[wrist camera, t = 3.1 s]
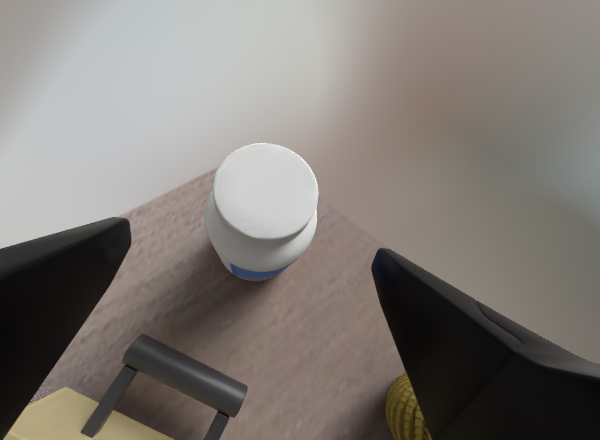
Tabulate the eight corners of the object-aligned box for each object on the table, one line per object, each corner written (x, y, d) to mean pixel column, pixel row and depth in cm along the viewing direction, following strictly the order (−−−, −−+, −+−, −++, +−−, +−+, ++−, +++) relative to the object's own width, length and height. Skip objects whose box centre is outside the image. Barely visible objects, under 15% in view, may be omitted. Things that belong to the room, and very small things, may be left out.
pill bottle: (306, 243, 19) (364, 193, 10) (257, 298, 17) (275, 298, 8) (254, 195, 19) (266, 105, 10) (200, 244, 17) (156, 186, 8)
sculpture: (454, 355, 19) (590, 392, 12) (467, 417, 18) (627, 502, 11) (359, 368, 17) (447, 421, 10) (366, 437, 16) (473, 557, 9)
